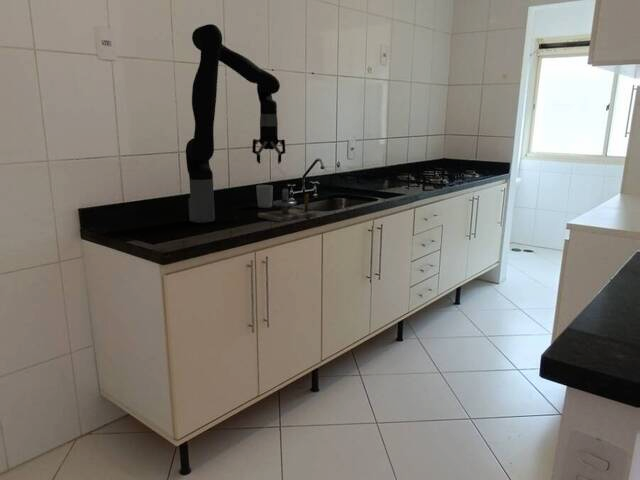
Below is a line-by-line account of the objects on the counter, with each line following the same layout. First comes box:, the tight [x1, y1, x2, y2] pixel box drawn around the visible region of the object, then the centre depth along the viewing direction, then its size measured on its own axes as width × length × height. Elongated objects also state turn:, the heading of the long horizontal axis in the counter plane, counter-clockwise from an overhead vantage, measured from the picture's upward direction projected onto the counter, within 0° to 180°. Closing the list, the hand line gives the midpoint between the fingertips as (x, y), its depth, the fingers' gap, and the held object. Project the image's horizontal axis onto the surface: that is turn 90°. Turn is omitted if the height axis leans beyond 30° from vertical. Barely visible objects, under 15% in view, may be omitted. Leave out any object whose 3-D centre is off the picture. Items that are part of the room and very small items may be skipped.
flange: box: [272, 188, 298, 207], centre depth 213 cm, size 18×10×5 cm, turn 3°
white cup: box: [255, 184, 274, 209], centre depth 237 cm, size 8×8×10 cm
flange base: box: [257, 193, 317, 222], centre depth 211 cm, size 20×15×9 cm
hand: (269, 163), depth 216 cm, fingers open, 8 cm apart
